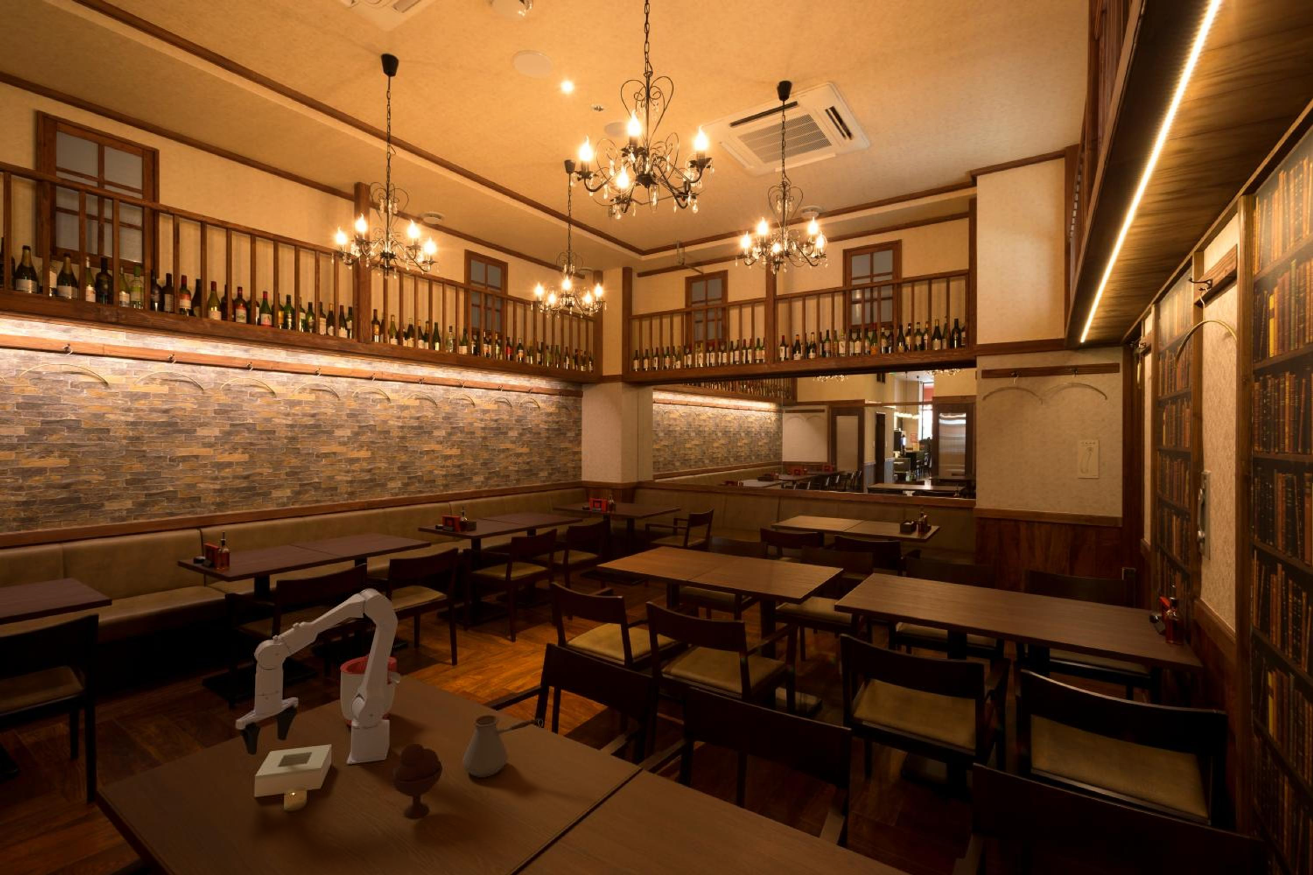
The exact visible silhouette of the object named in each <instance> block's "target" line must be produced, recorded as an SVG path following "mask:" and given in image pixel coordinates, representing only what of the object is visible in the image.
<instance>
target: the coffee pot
mask: <svg viewBox="0 0 1313 875" xmlns="http://www.w3.org/2000/svg"><path fill="white" fill-rule="evenodd" d="M499 721H500V718H499V716H497V715H494V714H483V715H479V716H478V717H476V718H475V719H474V720H473V725H475V731H474V732H473V735H472V737H471V739H470V742H469V744H468V746H467V749H466V751H465V753H464V756H463V758H462V765H463V767H464V769H465V770H466V772H468V773H469V774H470V775H471V776H473V777H475V776H476V777H475V778H487V776H488V777H492V776H494V775H495V773H496V774H497V773H499V771H500V770H502V769H503V768H504V766H505V765H506V763H507V762H508V759H509V754H508V752H507V749H506V747H505V745H504V742H503V740H502V738H501V735H502V734H504V733H507V732H510V731H514V730H518V729H522V728H525V727H527V726H530V725H534V724H535V723H537V725H538V727H539V728H541V727H543V725H544V721H543V719H542V718H540V717H538V718H535V719H533V718H532V719H530V720H528V721H523V722H520V723H517V724H514V725H511V726H510V727H506V728H503V729H499V730H498V728H497V725H498V723H499ZM540 721H541V725H540ZM493 774H494V775H493ZM491 775H492V776H491Z"/></svg>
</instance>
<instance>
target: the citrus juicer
mask: <svg viewBox="0 0 1313 875" xmlns="http://www.w3.org/2000/svg"><path fill="white" fill-rule="evenodd" d="M369 655H370V653H368V654H366V655H365V656H362V657H361V656H360V657H356V658H354V659H350V660H348V661H345V662H344V663H343V664H341V666H340V667H339V669H340V671H341V672H340V708H341V711H342V712H341V713H342V716H343V718H344V721H345V723H346V725H348V726H350V727H352V721H353V719H354V714H353V713H352V712H351V709H350V705H351V702H352V700H353V698H354V697H355V696H356V694H357V691H358V688H359V687H360V686H361V685H362V683H363V679H364V675H365V671H366V667H367V663H368V659H369ZM397 662H398V661H397V659H396V657H393V656H390V658H389V662H388V666H387V670H386V674H385V678H384V682H383V686H382V690H383V703H382V706H383V710H384V713H383V717H382V719H383V720H387V718H388V717H389V714H390V713H391V710H392V706H393V702H394V699H395V693H396V692H395V691H396V690H395V689H396V684H399V683H400V682H401V680H402V676H401V674H400V673H398V672H397V665H398V664H397Z"/></svg>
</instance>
